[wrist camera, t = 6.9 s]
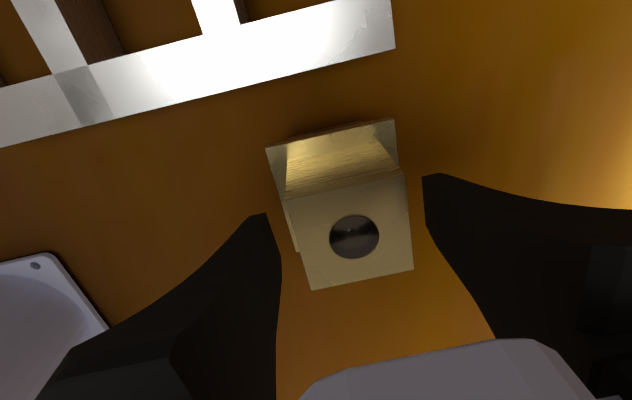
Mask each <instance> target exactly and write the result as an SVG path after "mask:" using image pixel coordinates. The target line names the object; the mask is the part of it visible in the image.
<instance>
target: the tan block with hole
mask: <svg viewBox="0 0 632 400" xmlns="http://www.w3.org/2000/svg"><path fill="white" fill-rule="evenodd" d="M265 151H266V154H267V157H268V161H269V164H270V167H271V171H272V174H273V177H274V180H275V184H276V187H277V190H278V194H279V197H280V200H281V204H282V207H283V210H284V214H285V217H286V220H287V223H288V227H289V230H290V233H291V237H292V240H293V243H294V247H295V250H296V252H300V254H301V258H302V261H303V264H304V268H305V271H306V274H307V278H308V281H309V285H310V288H311V291H312V290H317V289H322V288H327V287H332V286H336V285H341V284H346V283H351V282H356V281H361V280H365V279H370V278H375V277H380V276H385V275H390V274H394V273H399V272H404V271H409V270H414V264H413V254H412V244H411V233H410V223H409V213H408V202H407V192H406V182H405V174H404V173H403V172H402V170H401V169H400V168H399V160H398V151H397V141H396V132H395V122H394V118H392V117H391V116H388V117H384V118H380V119H375V120H371V121H367V122H363V121H362V120H357V121H352V122H348V123H344V124H339V125H335V126H331V127H326V128H322V129H318V130H313V131H309V132H305V133H300V134H296V135H292V136H289V139H288V140H284V141H280V142H275V143H271V144H267V145H266V146H265Z"/></svg>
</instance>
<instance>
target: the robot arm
mask: <svg viewBox="0 0 632 400" xmlns="http://www.w3.org/2000/svg"><path fill="white" fill-rule="evenodd" d="M422 187H423V199H424V211H425V223H426V226H427V228H428V231H429V233H430V235H431V237H432V239H433V240H434V242H435V244H436V246H437V248H438V249H439V250H440V252H441V253H442V255H443V256H444V258H445V259H446V260H447V262H448V263H449V265H450V266H451V267H452V269H453V270H454V272H455V273H456V274H457V276H458V277H459V279H460V280H461V281H462V283H463V284H464V286H465V287H466V288H467V290H468V291H469V293H470V294H471V296H472V297H473V299H474V300H475V302H476V303H477V305H478V307H479V309H480V310H481V312H482V314H483V316H484V317H485V319H486V321H487V323H488V325H489V326H490V328H491V330H492V332H493V334H494V336H495V338H496V339H491V340H486V341H481V342H476V343H471V344H466V345H461V346H456V347H451V348H446V349H441V350H436V351H431V352H426V353H421V354H416V355H411V356H406V357H401V358H396V359H391V360H386V361H381V362H376V363H371V364H366V365H361V366H356V367H351V368H346V369H344V370H341V371H339V372H336V373H333V374H331V375H328V376H326V377H323V378H321V379H318V380H317V381H316V382H315V383H314V384H313V385H312V386H311V387H310V388H309V389H308V390H307V391H306V392H305V393H304V394H303V395H302V396H301V397H300V399H299V400H632V210H627V209H609V208H596V207H586V206H577V205H568V204H561V203H554V202H548V201H543V200H537V199H532V198H527V197H522V196H518V195H514V194H510V193H506V192H502V191H498V190H495V189H491V188H488V187H485V186H481V185H478V184H475V183H472V182H469V181H466V180H463V179H460V178H456V177H453V176H450V175H447V174H442V173H436V174H431V175H427V176H423V177H422ZM37 263H38V264H37ZM39 264H40V265H39ZM281 283H282V268H281V256H280V253H279V250H278V247H277V244H276V241H275V238H274V235H273V232H272V230H271V227H270V224H269V221H268V218H267V215H266V213H261V214H257V215H253V216H249V217H248V218H247V219H246V220H245V221H244V222H243V223H242V224H241V225H240V226H239V228H238V229H237V230H236V231H235V232H234V233H233V234H232V235H231V236H230V238H229V239H228V240H227V241H226V242H225V243H224V244H223V245H222V246H221V247H220V248H219V249H218V250H217V251H216V252H215V253H214V254H213V255H212V256H211V257H210V258H209V259H208V260H207V261H206V262H205V263H204V264H203V265H202V266H201V267H200V268H199V269H198V270H196V271H195V272H194V273H193V274H192V275H190V276H189V277H188V278H187V279H186V280H184V281H183V282H182V283H181V284H179V285H178V286H176V287H175V288H174V289H172V290H171V291H169V292H168V293H167V294H165V295H164V296H162V297H161V298H160V299H158V300H157V301H155V302H154V303H152V304H151V305H149V306H148V307H146V308H144V309H143V310H141V311H140V312H138V313H136V314H135V315H133V316H131V317H129V318H128V319H126V320H124V321H123V322H121V323H119V324H117V325H115V326H114V327H112V328H110V329H109V327H108V326H107V325H106V323H105V322H104V321H103V319H102V318H101V317H100V315H99V314H98V313H97V311H96V310H95V309H94V307H93V306H92V305H91V303H90V302H89V301H88V299H87V298H86V297H85V295H84V294H83V293H82V291H81V290H80V289H79V287H78V286H77V285H76V283H75V282H74V281H73V279H72V278H71V277H70V275H69V274H68V273H67V271H66V270H65V269H64V267H63V266H62V265H61V263H60V262H59V261H58V259H57V258H56V257H55V256H54V255H52V254H50V253H40V254H36V255H31V256H27V257H23V258H18V259H14V260H10V261H5V262H1V263H0V400H276V331H277V322H278V313H279V303H280V294H281Z"/></svg>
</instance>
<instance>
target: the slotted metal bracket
mask: <svg viewBox="0 0 632 400" xmlns="http://www.w3.org/2000/svg"><path fill="white" fill-rule="evenodd" d="M11 2H12V3H13V5H14V7H15V9H16V10H17V12H18V14H19V16H20V18H21V19H22V21H23V23H24V25H25V26H26V28H27V30H28V32H29V33H30V35H31V37H32V39H33V40H34V42H35V44H36V46H37V47H38V49H39V51H40V53H41V54H42V56H43V58H44V60H45V61H46V63H47V65H48V67H49V68H50V70H51V72H52V75H48V76H45V77H41V78H37V79H33V80H29V81H25V82H22V83H18V84H14V85H10V86H6V84H5V83H4V81H3V79H2V78H1V76H0V148H1V147H5V146H9V145H13V144H17V143H21V142H25V141H29V140H33V139H37V138H41V137H45V136H49V135H53V134H57V133H61V132H65V131H69V130H73V129H77V128H81V127H85V126H89V125H93V124H97V123H101V122H105V121H109V120H113V119H117V118H120V117H124V116H128V115H132V114H136V113H140V112H144V111H148V110H152V109H156V108H160V107H164V106H168V105H172V104H176V103H180V102H184V101H188V100H192V99H196V98H200V97H204V96H208V95H212V94H216V93H220V92H224V91H228V90H232V89H236V88H240V87H244V86H248V85H252V84H256V83H260V82H264V81H268V80H272V79H276V78H280V77H284V76H288V75H292V74H296V73H300V72H304V71H308V70H311V69H315V68H319V67H323V66H327V65H331V64H335V63H339V62H343V61H347V60H351V59H355V58H359V57H363V56H367V55H371V54H375V53H379V52H383V51H387V50H391V49H395V39H394V30H393V20H392V10H391V1H390V0H335V1H331V2H327V3H323V4H320V5H316V6H312V7H308V8H304V9H301V10H297V11H293V12H289V13H285V14H281V15H278V16H274V17H270V18H266V19H262V20H258V21H255V22H251V23H250V22H249V18H248V14H247V11H246V7H245V4H244V0H192V3H193V6H194V9H195V12H196V15H197V18H198V21H199V23H200V26H201V29H202V32H203V35H201V36H197V37H194V38H190V39H186V40H182V41H178V42H174V43H171V44H167V45H163V46H159V47H155V48H152V49H148V50H144V51H140V52H136V53H132V54H129V55H126V54H125V52H124V50H123V48H122V46H121V44H120V41H119V39H118V37H117V35H116V33H115V30H114V28H113V26H112V24H111V22H110V20H109V17H108V15H107V13H106V11H105V9H104V7H103V4H102V2H101V0H11Z"/></svg>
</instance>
